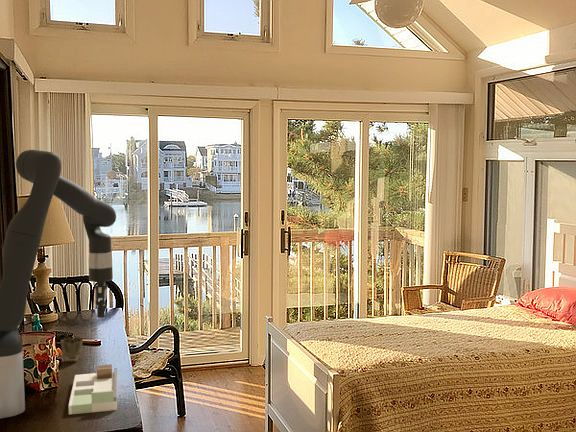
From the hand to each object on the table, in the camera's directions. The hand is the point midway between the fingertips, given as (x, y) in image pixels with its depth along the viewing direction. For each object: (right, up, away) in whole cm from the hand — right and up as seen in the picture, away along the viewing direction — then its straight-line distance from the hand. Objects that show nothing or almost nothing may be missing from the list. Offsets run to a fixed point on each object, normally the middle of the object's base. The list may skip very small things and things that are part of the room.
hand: (101, 314), depth 213 cm
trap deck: (+3, -22, -17) cm, 28 cm away
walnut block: (+3, -19, -7) cm, 20 cm away
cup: (-16, -20, +18) cm, 31 cm away
